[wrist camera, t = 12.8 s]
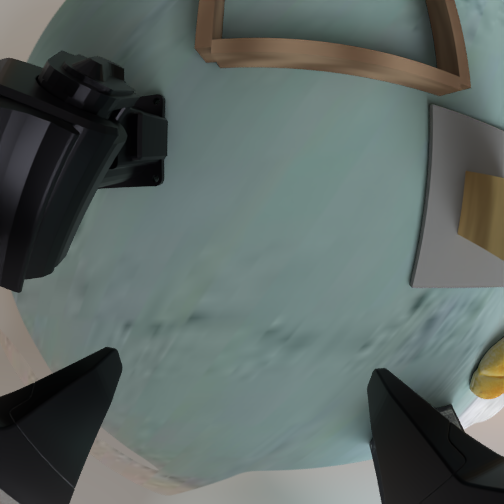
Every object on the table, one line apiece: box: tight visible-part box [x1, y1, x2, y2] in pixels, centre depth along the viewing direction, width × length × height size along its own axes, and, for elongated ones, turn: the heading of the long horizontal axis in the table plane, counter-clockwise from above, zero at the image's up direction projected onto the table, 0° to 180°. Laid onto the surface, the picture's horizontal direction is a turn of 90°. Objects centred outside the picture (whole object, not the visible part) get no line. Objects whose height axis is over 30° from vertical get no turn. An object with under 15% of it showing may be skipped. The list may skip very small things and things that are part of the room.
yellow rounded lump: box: [470, 337, 504, 399], centre depth 20 cm, size 8×9×4 cm
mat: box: [410, 104, 504, 288], centre depth 17 cm, size 12×14×1 cm
